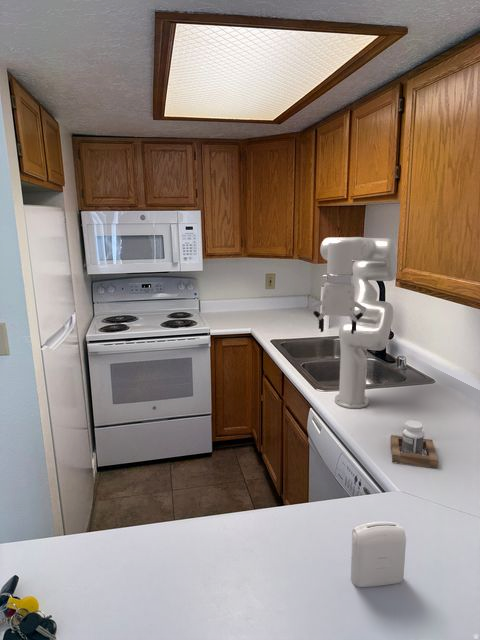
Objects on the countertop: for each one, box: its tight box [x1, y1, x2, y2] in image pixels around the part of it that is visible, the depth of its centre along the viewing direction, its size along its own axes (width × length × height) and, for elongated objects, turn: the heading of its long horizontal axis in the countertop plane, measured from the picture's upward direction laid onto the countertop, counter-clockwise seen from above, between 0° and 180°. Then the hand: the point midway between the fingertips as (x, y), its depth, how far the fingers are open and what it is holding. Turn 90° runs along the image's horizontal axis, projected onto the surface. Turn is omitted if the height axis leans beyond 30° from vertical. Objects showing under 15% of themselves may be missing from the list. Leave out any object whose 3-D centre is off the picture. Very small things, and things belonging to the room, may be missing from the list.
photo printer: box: [350, 521, 407, 588], centre depth 83 cm, size 10×4×12 cm, turn 96°
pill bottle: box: [401, 419, 425, 455], centre depth 127 cm, size 6×6×10 cm
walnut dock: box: [389, 434, 439, 469], centre depth 127 cm, size 12×12×2 cm
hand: (337, 332), depth 138 cm, fingers open, 9 cm apart
